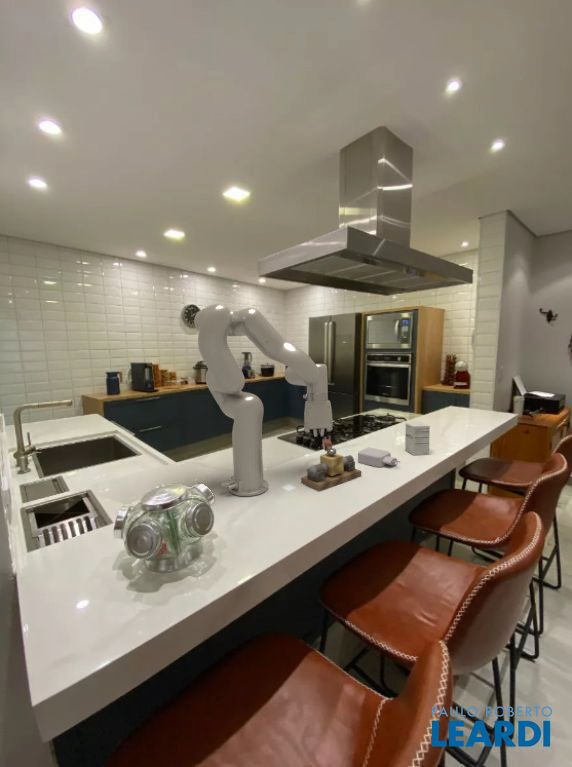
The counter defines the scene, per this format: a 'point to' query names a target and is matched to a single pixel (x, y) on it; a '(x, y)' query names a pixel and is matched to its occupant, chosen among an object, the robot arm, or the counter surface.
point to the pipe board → (331, 480)
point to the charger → (376, 457)
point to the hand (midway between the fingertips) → (318, 446)
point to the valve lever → (328, 446)
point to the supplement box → (417, 438)
